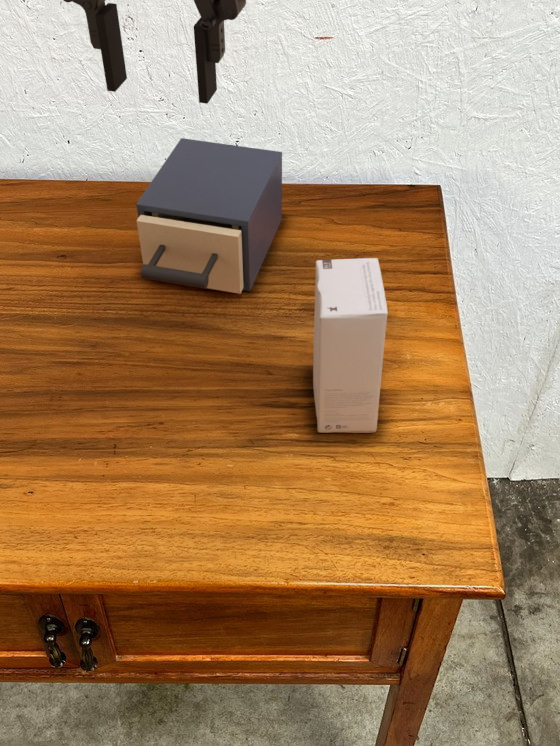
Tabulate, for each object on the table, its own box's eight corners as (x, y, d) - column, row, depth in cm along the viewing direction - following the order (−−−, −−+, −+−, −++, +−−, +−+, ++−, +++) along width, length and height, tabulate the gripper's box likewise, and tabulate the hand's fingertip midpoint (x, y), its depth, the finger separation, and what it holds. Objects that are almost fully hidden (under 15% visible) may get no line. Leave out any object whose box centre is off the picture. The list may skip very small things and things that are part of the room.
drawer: (226, 324, 83) (223, 267, 78) (127, 306, 85) (117, 249, 80) (271, 225, 96) (271, 170, 90) (184, 212, 98) (178, 156, 92)
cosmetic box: (376, 434, 74) (393, 317, 63) (313, 435, 74) (319, 318, 63) (368, 371, 80) (382, 254, 69) (309, 371, 80) (314, 255, 69)
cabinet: (250, 291, 88) (248, 221, 82) (146, 274, 91) (135, 204, 84) (281, 219, 98) (282, 151, 91) (187, 205, 100) (181, 137, 94)
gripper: (289, -236, 53) (285, 85, 69) (14, -250, 56) (72, 59, 73) (260, -216, 48) (263, 125, 64) (-41, -233, 51) (35, 95, 68)
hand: (162, 89), depth 69 cm, fingers open, 8 cm apart
